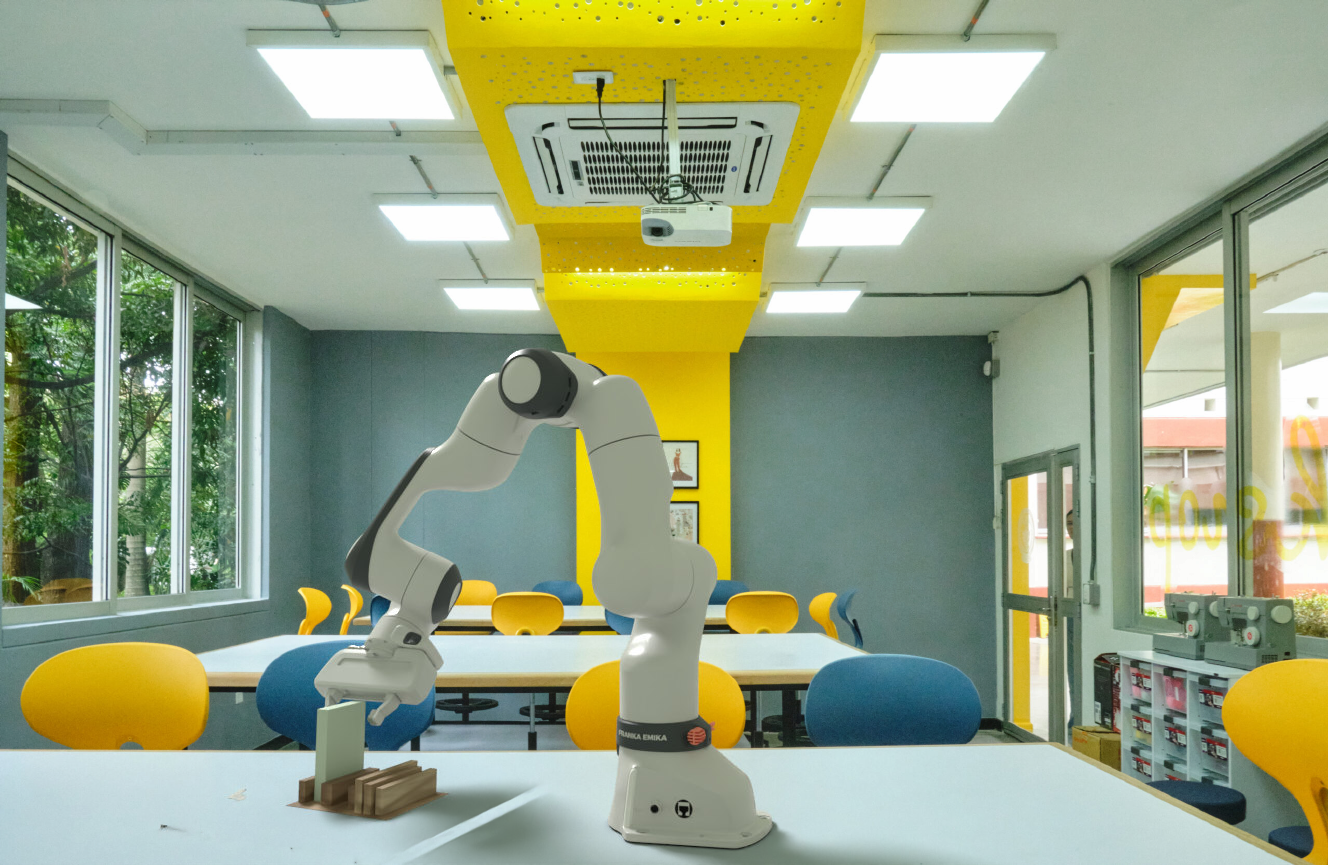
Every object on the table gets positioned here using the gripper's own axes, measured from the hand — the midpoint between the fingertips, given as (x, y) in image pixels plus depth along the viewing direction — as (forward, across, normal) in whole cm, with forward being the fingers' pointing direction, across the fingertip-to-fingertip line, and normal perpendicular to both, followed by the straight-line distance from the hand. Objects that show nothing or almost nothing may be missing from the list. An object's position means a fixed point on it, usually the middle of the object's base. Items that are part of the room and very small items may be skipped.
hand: (348, 720), depth 139 cm
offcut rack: (+10, +6, +7) cm, 13 cm away
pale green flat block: (+8, 0, +6) cm, 11 cm away
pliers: (+17, -12, +1) cm, 21 cm away
